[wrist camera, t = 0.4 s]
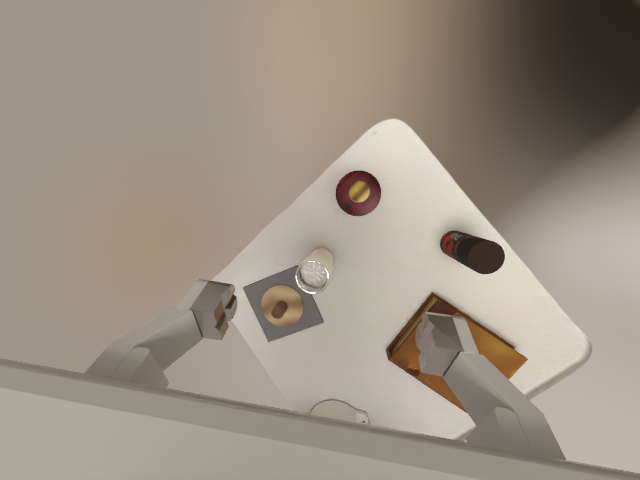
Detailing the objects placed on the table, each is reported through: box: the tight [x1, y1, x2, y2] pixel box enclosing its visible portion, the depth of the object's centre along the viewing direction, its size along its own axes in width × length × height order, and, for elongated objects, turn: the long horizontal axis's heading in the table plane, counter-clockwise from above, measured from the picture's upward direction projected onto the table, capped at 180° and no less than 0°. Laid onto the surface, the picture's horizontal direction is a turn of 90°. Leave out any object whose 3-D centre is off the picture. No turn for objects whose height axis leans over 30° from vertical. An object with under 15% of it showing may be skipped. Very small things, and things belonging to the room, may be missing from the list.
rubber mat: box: [243, 266, 324, 342], centre depth 67 cm, size 16×16×1 cm
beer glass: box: [295, 248, 334, 294], centre depth 57 cm, size 7×7×15 cm
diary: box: [386, 292, 528, 413], centre depth 61 cm, size 23×19×6 cm
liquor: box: [336, 171, 381, 216], centre depth 47 cm, size 7×7×28 cm
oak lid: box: [261, 285, 304, 327], centre depth 65 cm, size 11×11×5 cm
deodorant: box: [440, 231, 505, 274], centre depth 52 cm, size 6×6×15 cm
